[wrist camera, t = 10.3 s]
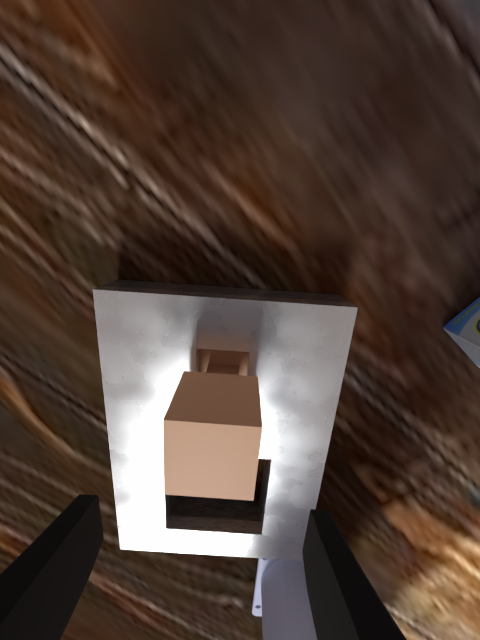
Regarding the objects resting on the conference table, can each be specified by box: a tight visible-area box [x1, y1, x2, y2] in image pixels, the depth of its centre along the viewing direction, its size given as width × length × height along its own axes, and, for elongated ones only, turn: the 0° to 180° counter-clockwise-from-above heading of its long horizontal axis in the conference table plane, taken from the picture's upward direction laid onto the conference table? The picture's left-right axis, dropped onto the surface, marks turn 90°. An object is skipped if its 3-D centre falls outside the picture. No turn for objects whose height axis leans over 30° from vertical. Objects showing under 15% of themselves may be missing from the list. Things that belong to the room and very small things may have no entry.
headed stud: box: [163, 349, 263, 501], centre depth 15 cm, size 5×5×8 cm
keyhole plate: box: [93, 280, 358, 561], centre depth 19 cm, size 20×14×3 cm
